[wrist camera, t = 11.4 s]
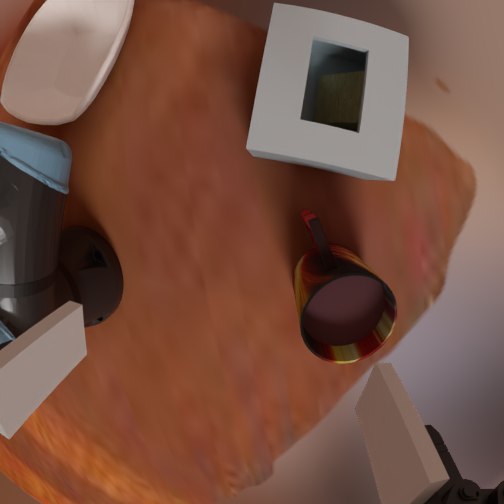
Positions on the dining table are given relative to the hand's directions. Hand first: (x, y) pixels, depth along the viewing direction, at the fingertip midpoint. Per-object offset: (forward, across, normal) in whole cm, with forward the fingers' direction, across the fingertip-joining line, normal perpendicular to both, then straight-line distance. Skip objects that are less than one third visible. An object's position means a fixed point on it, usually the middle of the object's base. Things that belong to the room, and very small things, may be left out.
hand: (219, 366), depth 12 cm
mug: (+27, +9, -2) cm, 28 cm away
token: (+25, +5, +18) cm, 31 cm away
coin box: (+27, +5, +18) cm, 33 cm away
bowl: (+27, -29, +22) cm, 45 cm away
